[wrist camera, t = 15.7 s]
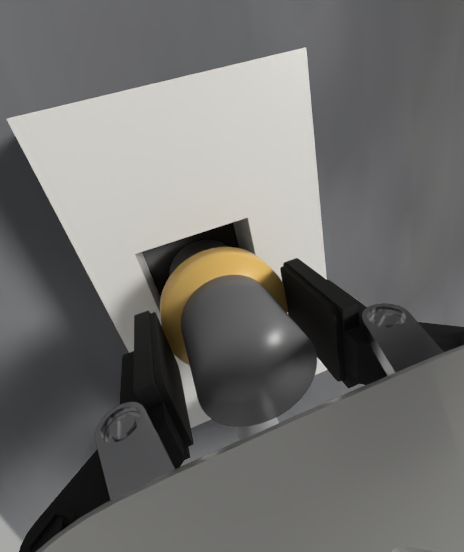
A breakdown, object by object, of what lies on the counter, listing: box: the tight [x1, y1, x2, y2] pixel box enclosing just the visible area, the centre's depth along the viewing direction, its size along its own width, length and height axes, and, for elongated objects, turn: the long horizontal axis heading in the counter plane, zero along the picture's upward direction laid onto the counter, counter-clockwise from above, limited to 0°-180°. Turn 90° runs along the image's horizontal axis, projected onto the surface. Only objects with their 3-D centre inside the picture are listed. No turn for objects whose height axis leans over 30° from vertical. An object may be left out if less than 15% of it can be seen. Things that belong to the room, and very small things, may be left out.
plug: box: [160, 240, 317, 427], centre depth 13 cm, size 5×5×8 cm
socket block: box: [7, 48, 328, 440], centre depth 13 cm, size 10×16×8 cm, turn 13°
